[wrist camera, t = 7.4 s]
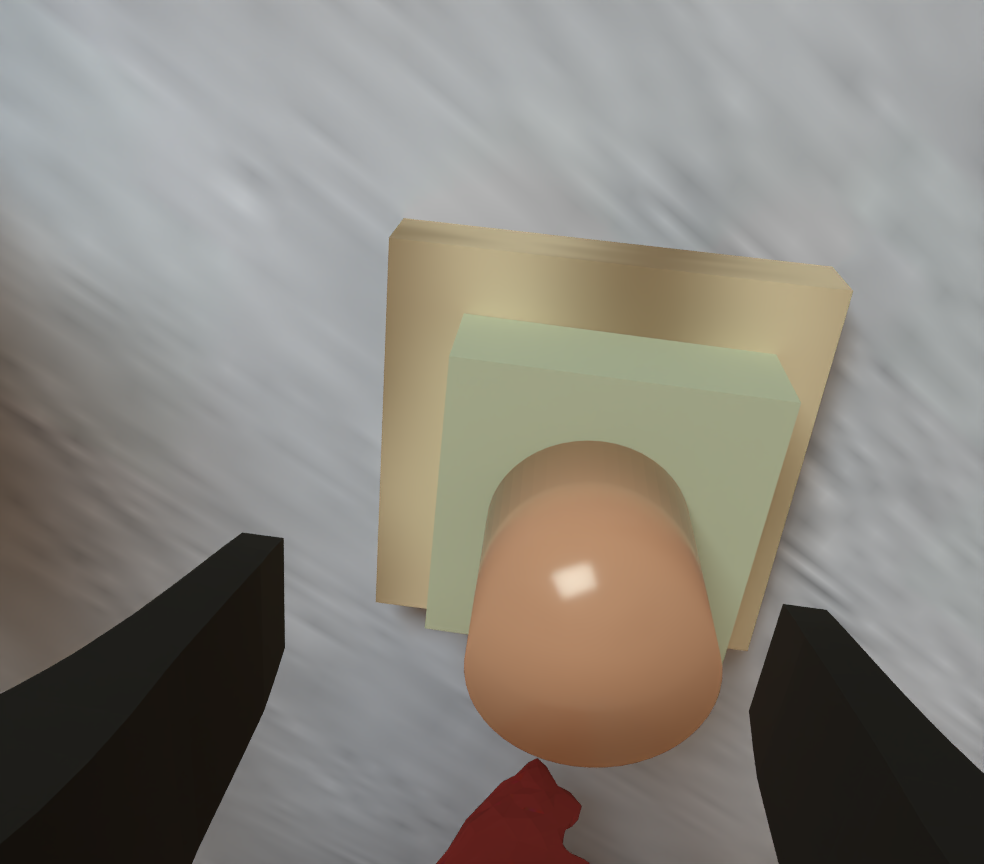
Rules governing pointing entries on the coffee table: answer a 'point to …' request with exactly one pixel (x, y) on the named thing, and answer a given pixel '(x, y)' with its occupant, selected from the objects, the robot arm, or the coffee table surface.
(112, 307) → the coffee table surface
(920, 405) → the coffee table surface
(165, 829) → the robot arm
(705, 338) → the maple slab
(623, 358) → the sage slab
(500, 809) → the decorative bird sculpture
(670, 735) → the peach domed cylinder
